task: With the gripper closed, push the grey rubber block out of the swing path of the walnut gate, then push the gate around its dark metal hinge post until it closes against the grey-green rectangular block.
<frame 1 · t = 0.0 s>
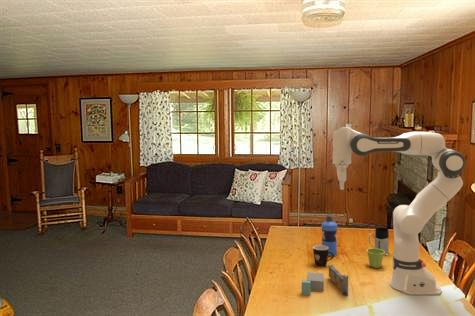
hand: (341, 187, 189), 48 cm above the table, tool pointing down, fingers open, 8 cm apart
rubber block: (315, 286, 189), on the table
lidded pitcher: (377, 254, 233), on the table
coffee mug: (322, 266, 215), on the table
hinge post: (345, 294, 179), on the table
water bottle: (329, 254, 234), on the table
plant pot: (375, 266, 213), on the table
grey-green rectangular block: (306, 293, 180), on the table
gate: (336, 277, 189), point 4 cm above the table, hinge at -70.0°
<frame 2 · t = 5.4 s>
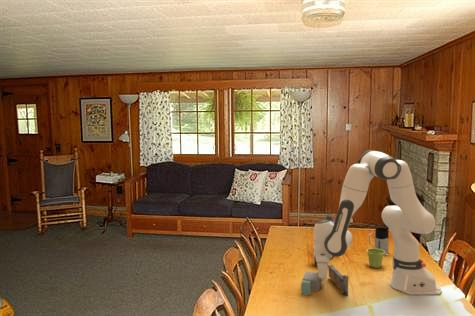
hand: (322, 280, 187), 3 cm above the table, tool pointing down, fingers closed
rubber block: (312, 285, 189), on the table
everything else where it was.
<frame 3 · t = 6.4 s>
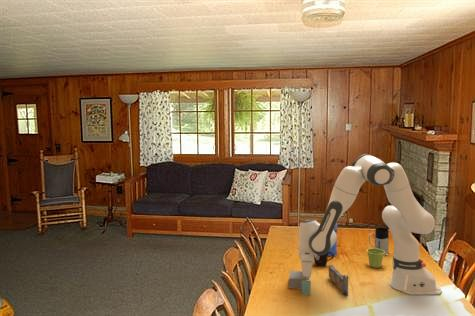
hand: (307, 279, 189), 3 cm above the table, tool pointing down, fingers closed, pressing on rubber block
rubber block: (297, 284, 191), on the table, touching gripper
everything else where it was.
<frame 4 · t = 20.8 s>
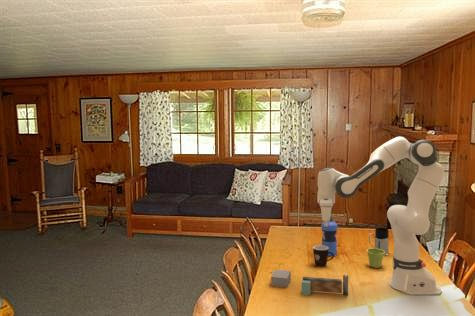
hand: (326, 225, 198), 27 cm above the table, tool pointing down, fingers closed
rubber block: (281, 283, 193), on the table
gate: (322, 285, 181), point 4 cm above the table, hinge at 0.4°
everything else where it was.
at the end: gate at +0° (first picture: -70°); rubber block inside the target area (1.3 cm from its centre), on the table; rubber block tilted 0° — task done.
